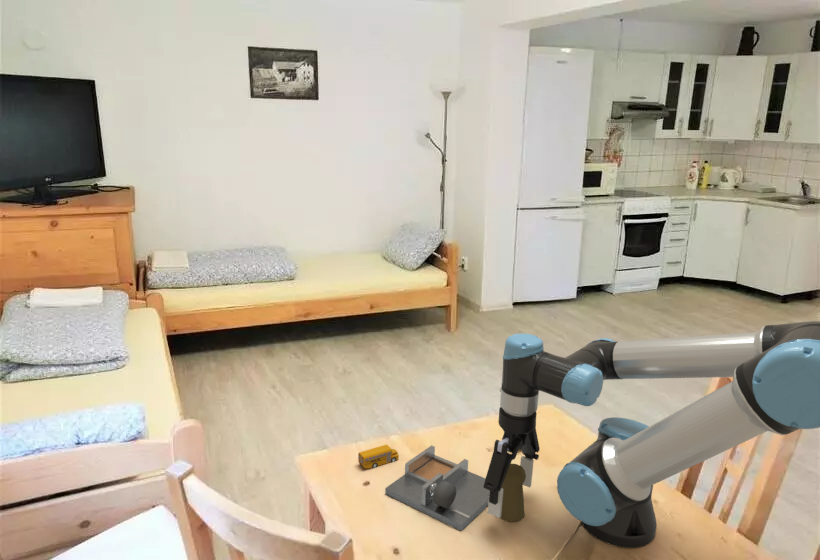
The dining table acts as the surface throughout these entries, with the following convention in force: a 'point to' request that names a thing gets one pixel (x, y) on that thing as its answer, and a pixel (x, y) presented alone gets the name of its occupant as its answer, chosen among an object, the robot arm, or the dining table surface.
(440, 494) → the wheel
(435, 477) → the plate
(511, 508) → the olive brown pawn
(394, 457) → the toy bus
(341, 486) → the dining table surface
